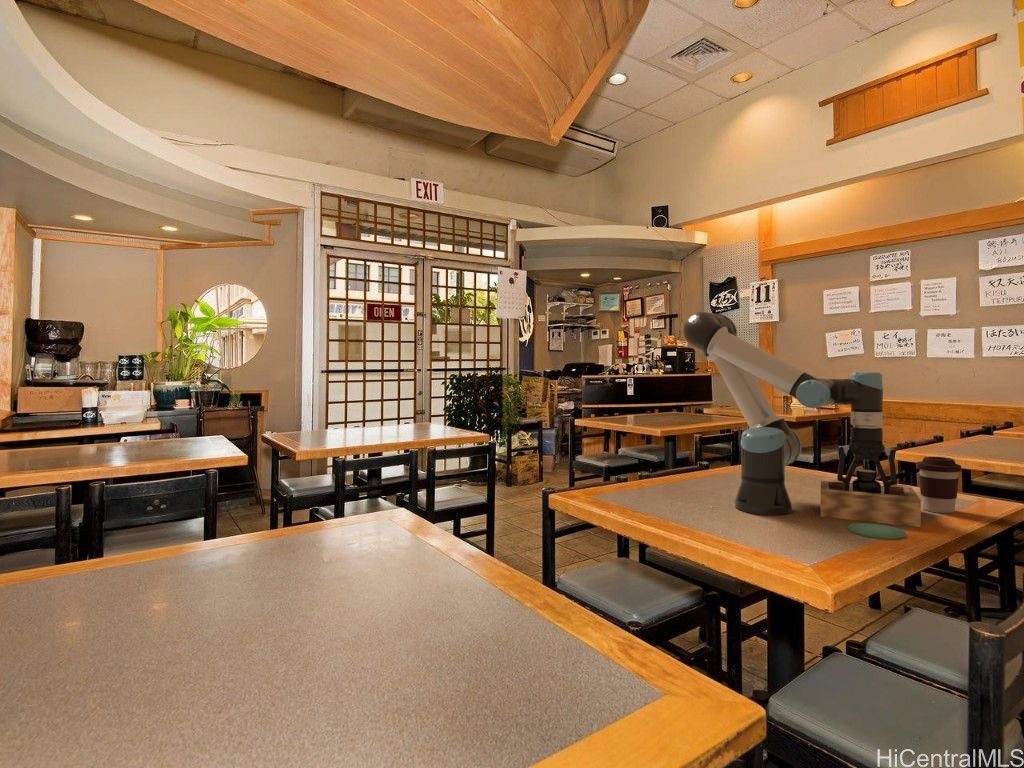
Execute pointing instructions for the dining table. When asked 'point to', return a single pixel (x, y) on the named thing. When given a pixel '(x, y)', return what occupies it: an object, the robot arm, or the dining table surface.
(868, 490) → the supplement bottle
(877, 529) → the mat
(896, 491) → the cover box
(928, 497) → the coffee cup
